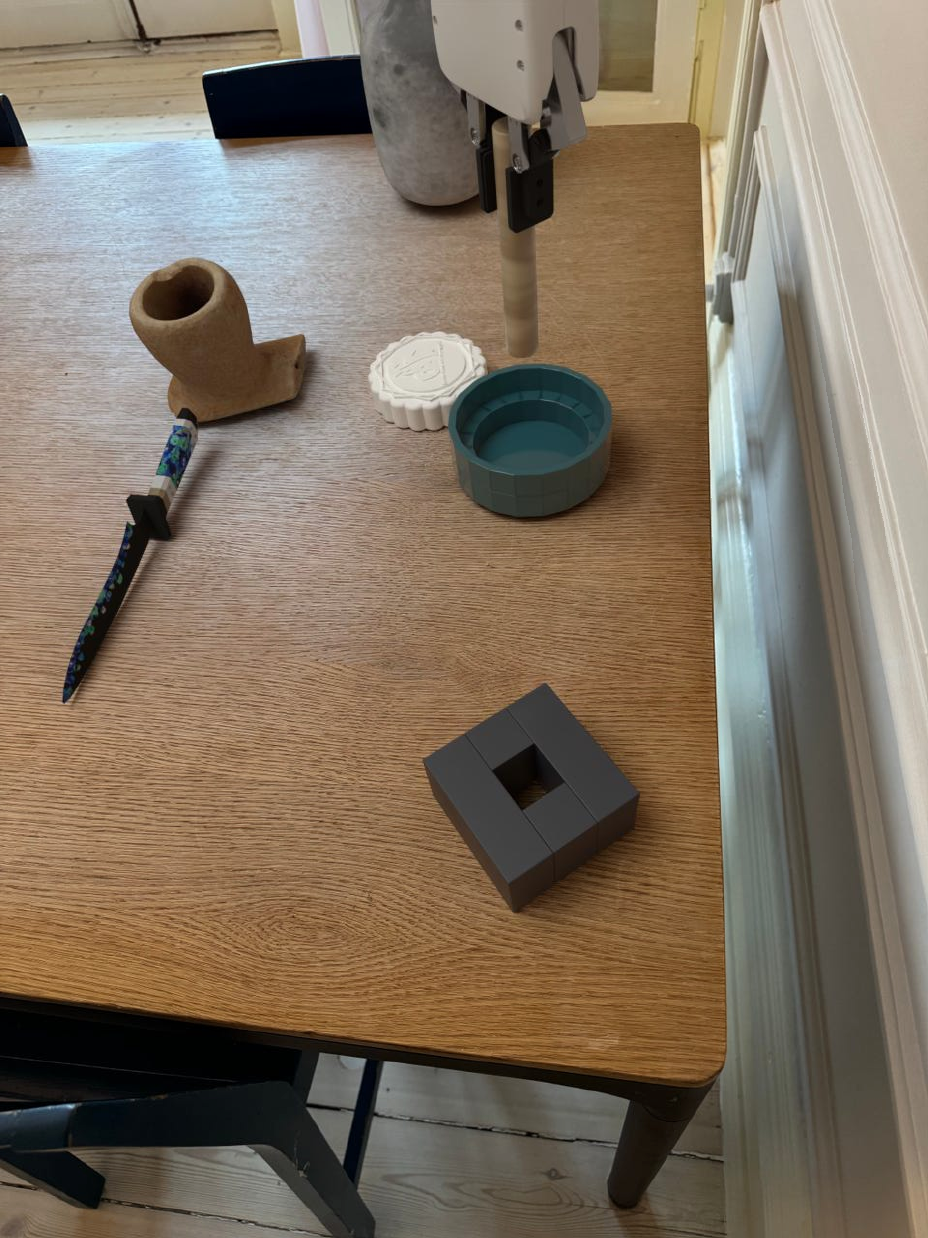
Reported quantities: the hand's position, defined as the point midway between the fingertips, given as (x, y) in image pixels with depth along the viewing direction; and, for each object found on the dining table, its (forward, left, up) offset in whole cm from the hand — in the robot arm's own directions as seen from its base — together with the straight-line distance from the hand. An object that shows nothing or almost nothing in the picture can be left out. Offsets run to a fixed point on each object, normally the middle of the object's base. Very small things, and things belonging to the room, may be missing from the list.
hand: (516, 211), depth 55 cm
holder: (+17, +24, -27) cm, 40 cm away
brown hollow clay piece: (+15, -31, -28) cm, 44 cm away
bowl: (-3, -4, -27) cm, 28 cm away
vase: (-23, -51, -28) cm, 62 cm away
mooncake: (-1, -19, -28) cm, 33 cm away
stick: (0, 0, -11) cm, 11 cm away
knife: (+32, -16, -28) cm, 45 cm away
